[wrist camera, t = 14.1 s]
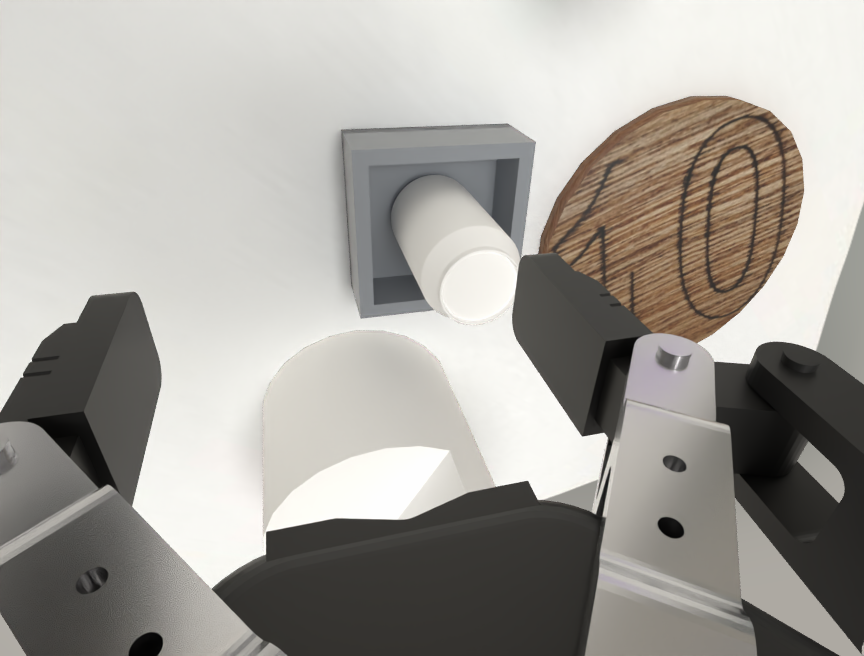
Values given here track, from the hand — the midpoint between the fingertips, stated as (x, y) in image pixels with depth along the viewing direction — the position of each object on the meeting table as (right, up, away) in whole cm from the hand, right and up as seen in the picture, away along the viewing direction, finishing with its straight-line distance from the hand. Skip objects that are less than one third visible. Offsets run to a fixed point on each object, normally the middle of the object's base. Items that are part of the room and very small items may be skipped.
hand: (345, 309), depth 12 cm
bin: (+1, +9, +30) cm, 31 cm away
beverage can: (+2, +8, +29) cm, 30 cm away
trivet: (+23, +8, +38) cm, 45 cm away
